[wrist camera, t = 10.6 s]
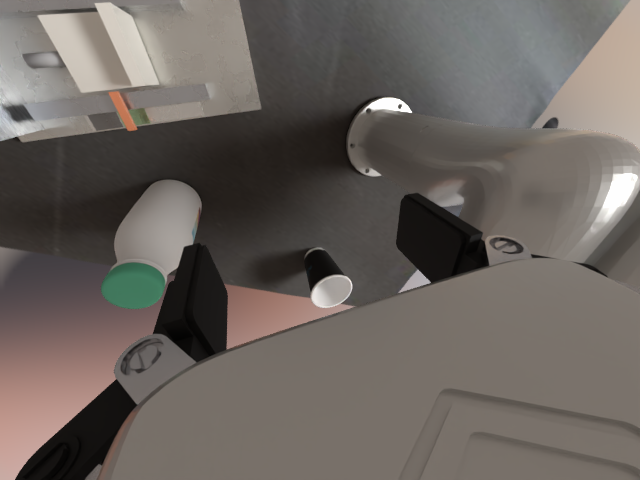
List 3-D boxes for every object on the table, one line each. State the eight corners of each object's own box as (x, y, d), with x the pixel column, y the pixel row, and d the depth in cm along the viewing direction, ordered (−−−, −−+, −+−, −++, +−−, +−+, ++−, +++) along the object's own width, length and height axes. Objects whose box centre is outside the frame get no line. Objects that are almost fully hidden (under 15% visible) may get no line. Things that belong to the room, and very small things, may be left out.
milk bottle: (132, 190, 35) (47, 284, 19) (182, 169, 35) (140, 243, 19) (168, 230, 39) (124, 333, 23) (212, 212, 40) (198, 299, 24)
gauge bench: (230, -38, 26) (229, -91, 18) (260, 108, 34) (269, 117, 26) (-103, -31, 21) (-315, -101, 13) (27, 140, 29) (-52, 163, 21)
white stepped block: (131, 16, 25) (109, 2, 20) (174, 121, 31) (164, 128, 26) (13, 23, 23) (-40, 9, 18) (82, 134, 29) (54, 144, 24)
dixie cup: (338, 258, 54) (358, 293, 45) (308, 276, 54) (322, 314, 45) (323, 234, 49) (342, 268, 40) (290, 254, 49) (302, 292, 41)
